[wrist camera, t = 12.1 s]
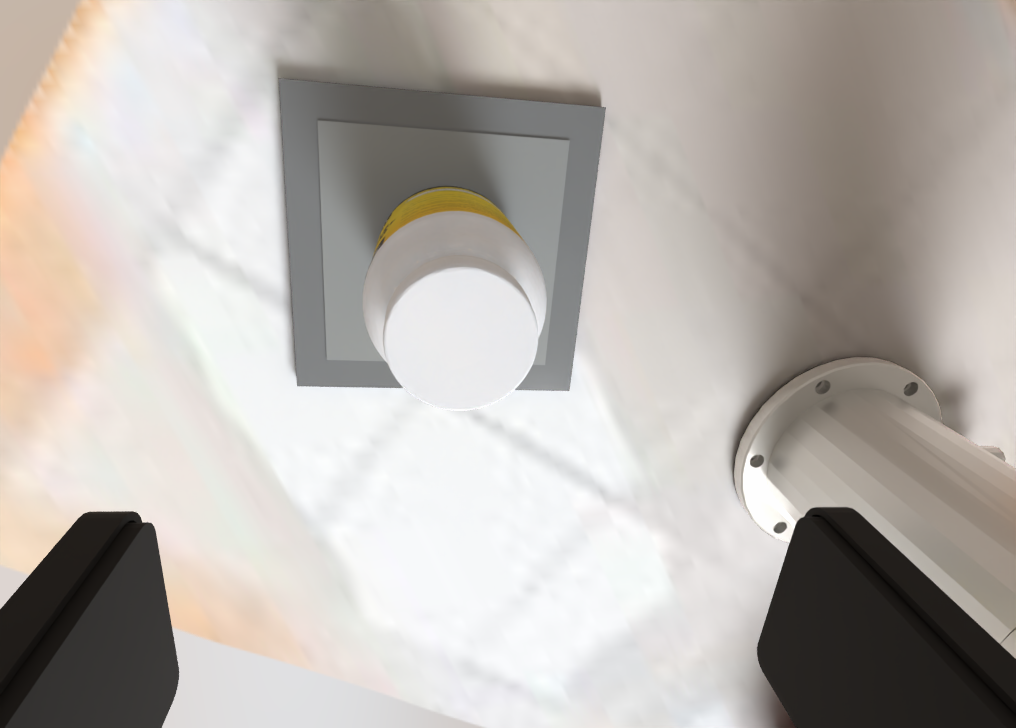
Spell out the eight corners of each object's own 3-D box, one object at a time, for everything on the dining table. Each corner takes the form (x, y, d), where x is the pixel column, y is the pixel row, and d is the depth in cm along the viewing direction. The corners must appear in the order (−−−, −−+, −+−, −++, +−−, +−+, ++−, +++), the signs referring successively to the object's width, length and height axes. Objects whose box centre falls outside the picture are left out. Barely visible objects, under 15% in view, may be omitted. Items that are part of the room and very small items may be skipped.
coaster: (602, 107, 28) (606, 107, 27) (566, 386, 33) (569, 391, 32) (281, 79, 25) (278, 78, 25) (299, 381, 31) (296, 387, 30)
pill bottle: (393, 166, 27) (374, 203, 16) (532, 204, 28) (597, 262, 18) (365, 303, 29) (332, 416, 18) (495, 332, 30) (533, 452, 20)
